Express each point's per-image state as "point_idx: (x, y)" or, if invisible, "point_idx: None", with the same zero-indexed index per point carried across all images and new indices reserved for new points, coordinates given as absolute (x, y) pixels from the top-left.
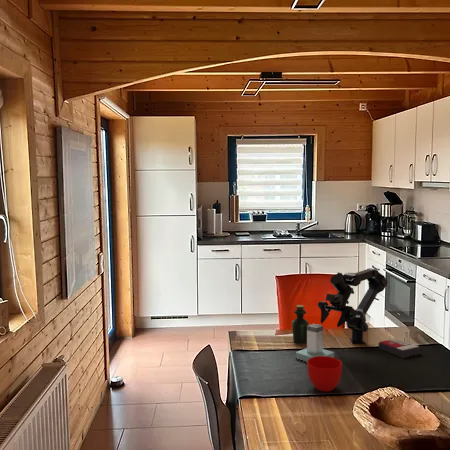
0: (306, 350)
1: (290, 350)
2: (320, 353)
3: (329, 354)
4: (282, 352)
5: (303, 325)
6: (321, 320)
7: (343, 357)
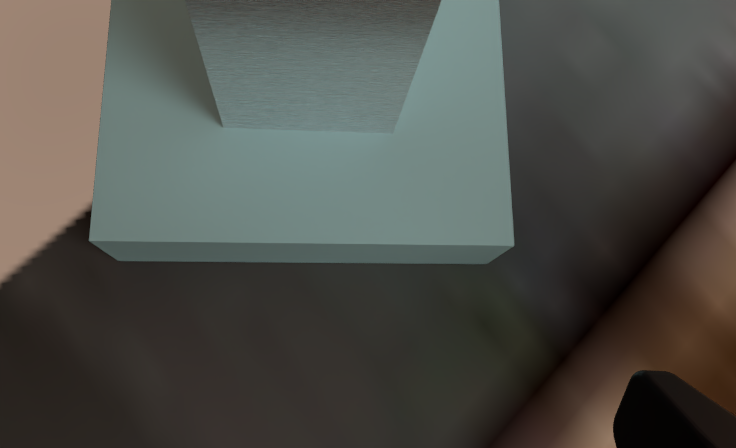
0: (440, 32)
1: (704, 121)
2: None
3: (101, 122)
4: (710, 9)
5: None
6: (692, 414)
7: (43, 406)
